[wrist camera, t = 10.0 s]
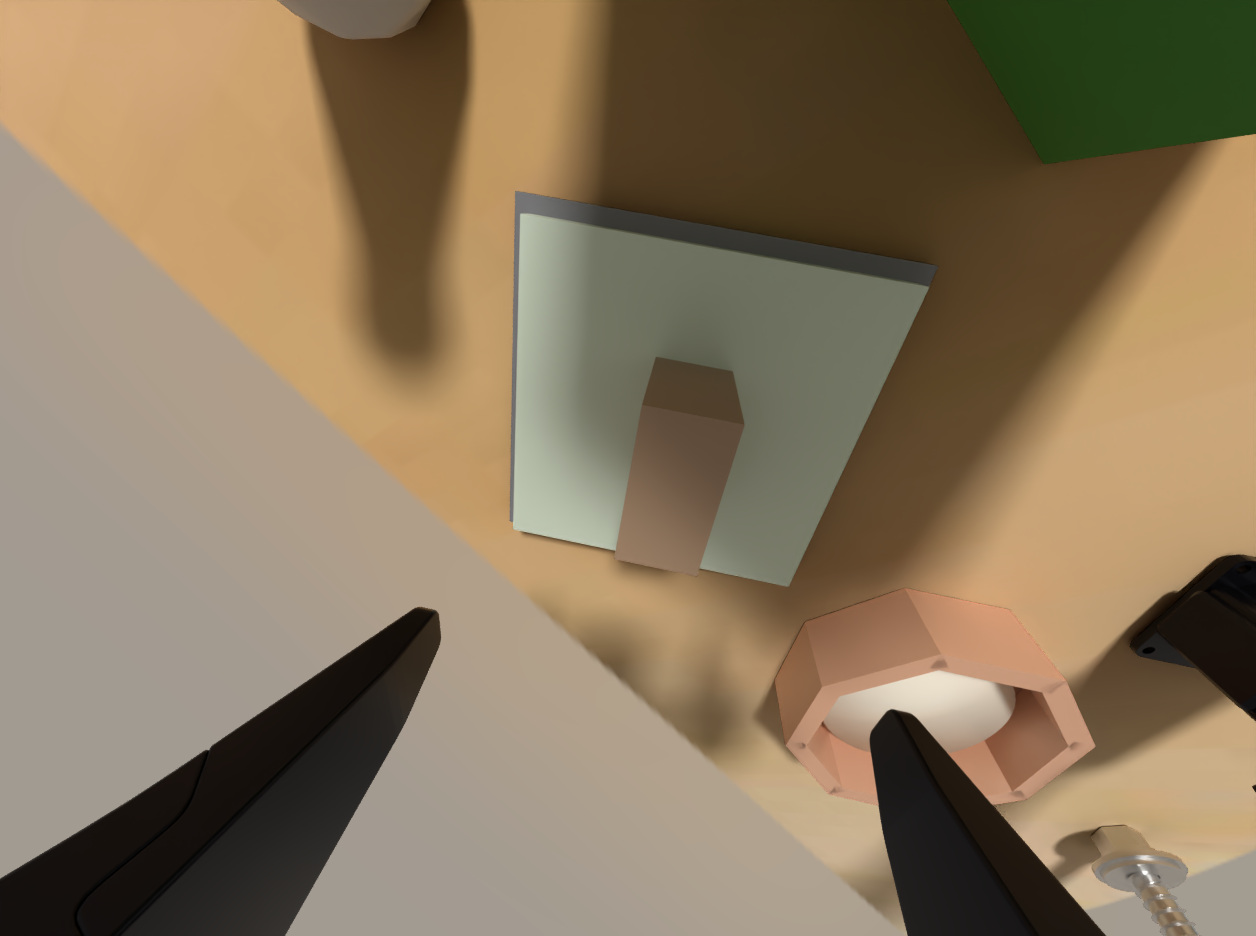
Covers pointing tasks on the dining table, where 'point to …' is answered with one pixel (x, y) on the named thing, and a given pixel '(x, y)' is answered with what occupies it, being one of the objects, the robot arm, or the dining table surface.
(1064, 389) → the dining table surface
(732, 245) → the mat
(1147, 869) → the screw
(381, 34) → the salt shaker
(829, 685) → the bowl
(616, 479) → the lid
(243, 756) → the robot arm
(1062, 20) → the hardback book
